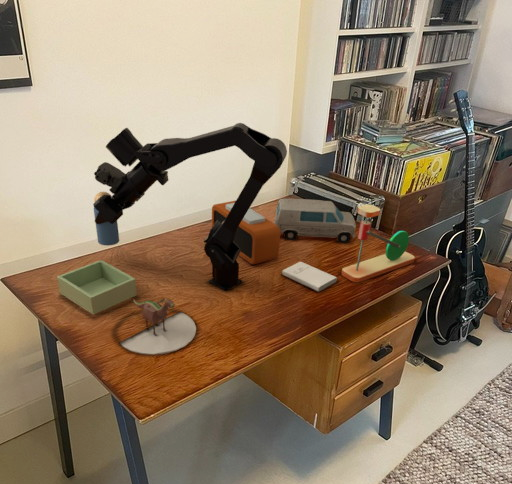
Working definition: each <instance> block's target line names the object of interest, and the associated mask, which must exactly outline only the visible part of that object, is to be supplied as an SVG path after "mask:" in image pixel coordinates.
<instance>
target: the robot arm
mask: <svg viewBox="0 0 512 484" xmlns="http://www.w3.org/2000/svg"><path fill="white" fill-rule="evenodd" d="M232 147H237V148H238V149H240V150H241V152H242V153H244V154H245V156H247V157H248V158H249V159H251V160H253V161H254V162H253V165H252V168H251V172H250V175H249V178H248V179H247V181H246V182H245V185H244V186H243V188H242V189H241V192H240V193H239V194H238V197H237V198H236V200H235V201H236V202H235V203H234V205H233V207H232V209H231V210H230V212H229V214H228V215H227V217H226V219H225V220H224V221H223V222H222V223H220V222H219V221H218V220H217V221H216V222H215V224H214V225H213V227H212V226H211V228H210V230H209V232H208V234H207V236H206V237H205V239H204V240H203V243H204V247H203V250H204V252H205V255H206V257H208V258H209V261H210V263H211V271H212V272H211V277H212V278H211V279H209V280H208V283H209V284H211V285H213V286H215V287H217V288H219V289H220V290H223V291H225V292H228V291H229V290H231V289H233V288H236V287H237V286H239V285H241V284H243V280H241V279H239V278H240V277H239V273H240V272H239V271H240V270H239V269H240V263H239V262H238V260H237V258H238V257H239V256H240V255H239V253H240V251H241V249H240V248H239V247H238V245H237V244H236V243H235V242H234V241H233V240H234V238H235V235H236V231H237V228H238V226H239V224H240V223H241V221H242V219H243V218H244V216H245V214H246V213H247V211H248V209H249V208H251V206H252V204H253V203H254V201H255V200H256V198H257V196H258V195H259V193H260V191H261V190H262V189H263V187H264V185H265V184H266V183H267V182H268V181H269V180H270V179H271V178H272V177H273V176H274V175H275V174H276V173H277V172H278V171H279V169H280V168H281V167H282V165H283V163H284V161H285V159H286V157H287V154H288V149H287V146H286V144H285V142H284V141H282V140H281V139H280V138H275V137H273V138H272V137H270V136H268V135H267V134H265V133H263V132H260V131H258V130H256V129H253V128H251V127H250V126H248V125H247V124H245V123H243V122H237V123H235V124H234V125H231V126H228V127H224V128H221V129H217V130H213V131H209V132H206V133H202V134H199V135H196V136H195V135H194V136H192V137H186V138H183V137H172V138H171V137H170V138H163V139H161V140H159V141H158V142H152V143H151V142H150V143H147V142H146V144H144V145H143V144H142V143H141V142H140V141H139V140H138V139H137V138H136V137H135V135H134V134H133V132H132V131H131V130H130V129H129V127H125V128H123V129H122V130H121V132H119V133H118V134H117V135H116V136H115V137H113V138H112V139H110V140H109V141H108V143H107V144H106V146H105V148H106V149H107V151H108V152H109V153H110V154H111V155H112V156H113V157H114V158H115V159H116V160H117V161H118V163H120V164H121V166H122V167H125V168H126V167H127V166H128V167H132V166H133V165H134V164H135V163H136V162H137V161H138V162H137V163H136V164H135V165H134V166H133V168H132V169H130V170H128V171H127V172H126V173H125V172H123V171H122V170H121V169H120V168H118V167H116V166H114V165H113V164H111V163H109V162H108V161H107V162H106V161H105V162H102V163H101V164H99V165H98V166H97V169H96V171H94V173H93V175H94V179H95V181H97V182H98V183H100V184H101V185H104V186H107V187H109V189H108V190H109V192H110V193H111V194H112V195H111V197H112V198H113V199H112V198H111V197H110V196H109V195H103V196H102V197H100V198H99V199H98V200H97V201H96V202H95V203H94V202H93V204H92V205H93V209H94V208H95V209H96V210H97V211H98V212H99V213H98V215H97V217H96V219H95V218H94V223H95V225H96V224H101V223H105V222H109V223H111V224H114V223H115V222H116V221H117V222H118V220H119V219H120V218H122V216H123V215H124V210H127V209H130V208H131V207H132V206H134V205H135V204H136V202H137V203H138V202H139V200H141V199H142V198H143V197H144V195H145V194H146V192H147V191H149V189H150V188H151V187H152V186H153V185H155V183H156V182H158V183H159V184H160V185H161V186H165V185H166V183H168V182H169V175H168V174H169V171H168V170H169V169H171V168H174V167H176V166H178V165H179V164H181V163H183V162H185V161H186V160H188V159H191V158H194V157H198V156H201V155H205V154H209V153H213V152H216V151H220V150H221V151H222V150H225V149H228V148H232Z"/></svg>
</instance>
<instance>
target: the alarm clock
mask: <svg viewBox="0 0 512 484" xmlns="http://www.w3.org/2000/svg"><path fill="white" fill-rule="evenodd" d="M235 202H236V200H231V201H226V202H222V203H221V202H220V203H215V204H213V205H212V207H211V228H212V227H213V225H214V224H215V222H216V221H217V220H218V221H219V222H220V223H222V222H223V221H224V220H225V219H226V217H227V215H228V214H229V212H230V210H231V209H232V207H233V205H234V203H235ZM233 241H234V242H235V243H236V244H237V245H238V247H239V248H240V249H241V251H240V253H239V255H238V256H240V257H241V258H242V259H243V260H244V261H246V262H248V264H250V265H257V264H260V263H264V262H268V261H271V260H275V259H277V258H278V257H279V254H280V242H281V235H280V229H279V227H278V226H277V225H276V224H274V221H272V220H270V219H268V218H266V217H265V216H264V215H262V214H260V213H259V212H257V211H255V210H254V209H252V208H251V207H250V208H249V209H248V211H247V213H246V214H245V216H244V218H243V219H242V221H241V223H240V224H239V226H238V228H237V231H236V235H235V238H234V240H233Z"/></svg>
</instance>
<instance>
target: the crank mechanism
mask: <svg viewBox="0 0 512 484" xmlns="http://www.w3.org/2000/svg"><path fill="white" fill-rule="evenodd" d="M356 212H357V214H358V215H360V216H362V217H364V218H365V219H364V220H361V221H360V223H359V228H358V233H357V239H359V240H360V246H359V251H358V252H359V253H358V257H357V262H356V263H353V264H350V265H348V266H345V267H343V268H342V269H341V274H340V275H341V276H343V277H344V278H346V279H347V280H349V281H351V282H353V283H361V282H364V281H367V280H370V279H372V278H375V277H378V276H381V275H383V274H386V273H389V272H391V271H395V270H397V269H400V268H404V267H405V266H408V265H411V264H414V263H415V259H416V257H415V256H414V255H413V254H411V253H409V252H407V249H408V245H409V241H410V236H409V233H408V232H407V231H405V230H398V231H397V232H395V233H394V234H393V235H392V236H391V238H389V239H388V238H386V237H384V236H381V235H379V234H378V233H375V232H373V231H371V226H372V223H371V221H369V220H368V219H369V218H374V217H378V216H379V215H380V214H381V213H380V212H381V208H380V207H379V206H376V205H374V204H362V205H359V206H357V211H356ZM369 236H371V237H374V238H376V239H377V240H380V241H381V242H384V243H387V245H386V247H385V253H383V254H380V255H377V256H374V257H371V258H369V259H366V260H363V261H361V257H362V251H363V246H364V241H368V240H369Z"/></svg>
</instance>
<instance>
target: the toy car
mask: <svg viewBox="0 0 512 484" xmlns="http://www.w3.org/2000/svg"><path fill="white" fill-rule="evenodd" d="M273 223H274V224H276V225H277V226H278V227H279V229H280V236H282V235H283V238H284V239H285V240H287V241H296V240H297V239H298V237H310V238H311V237H313V238H333V239H334V238H336V241H337V242H338V243H340V244H348V243H349V242H350V241H351V238H352V239H355V237H356V233H355V231H356V227H357V226H356V220H355V218H354V216H353V214H352V213H351V212H350V211H349V212H348V211H341V210H340V209H339V208H338V207H337V206H336V205H335V204H334V202H333V201H331V200H322V199H321V200H320V199H305V198H279V199H278V203H277V206H276V209H275V217H274V220H273Z"/></svg>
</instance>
